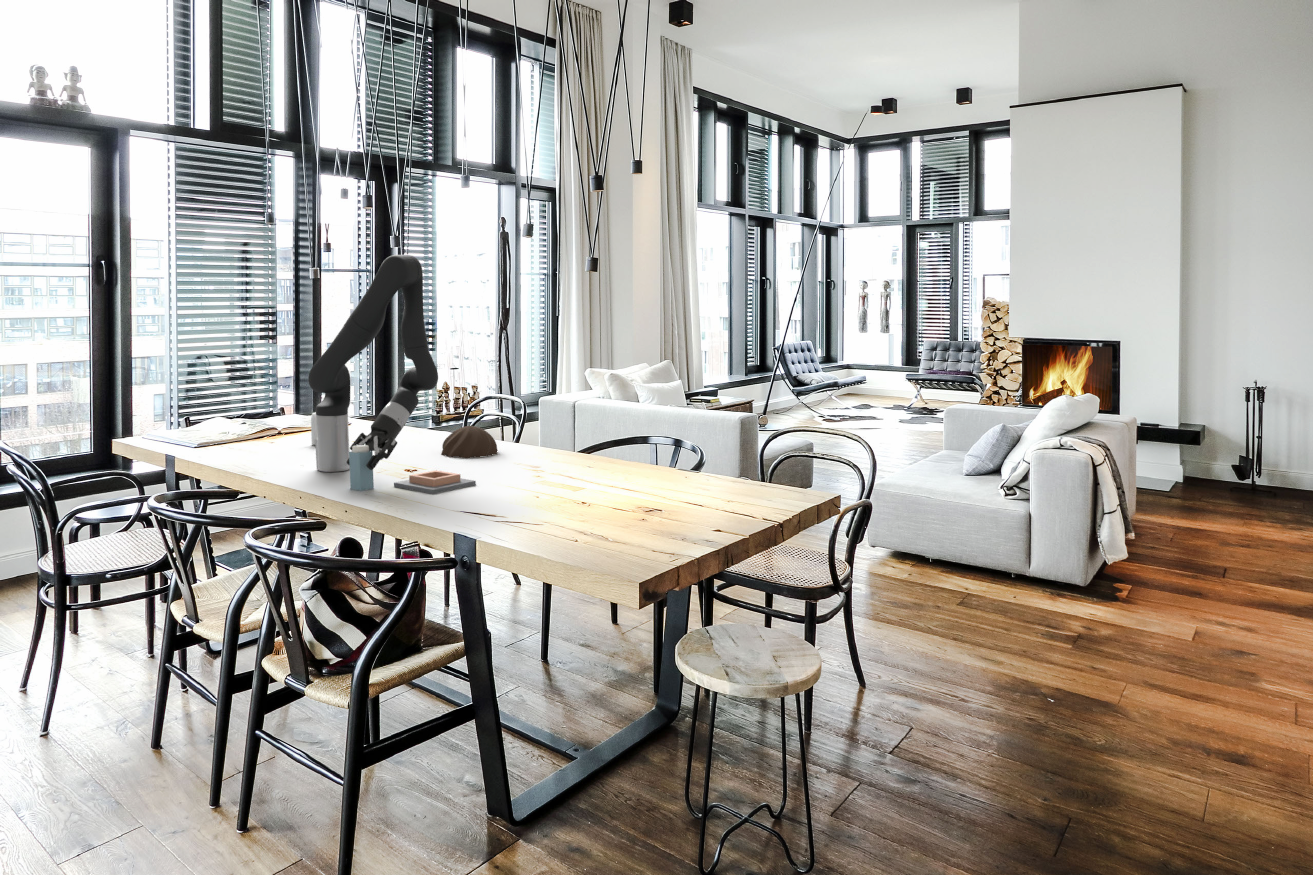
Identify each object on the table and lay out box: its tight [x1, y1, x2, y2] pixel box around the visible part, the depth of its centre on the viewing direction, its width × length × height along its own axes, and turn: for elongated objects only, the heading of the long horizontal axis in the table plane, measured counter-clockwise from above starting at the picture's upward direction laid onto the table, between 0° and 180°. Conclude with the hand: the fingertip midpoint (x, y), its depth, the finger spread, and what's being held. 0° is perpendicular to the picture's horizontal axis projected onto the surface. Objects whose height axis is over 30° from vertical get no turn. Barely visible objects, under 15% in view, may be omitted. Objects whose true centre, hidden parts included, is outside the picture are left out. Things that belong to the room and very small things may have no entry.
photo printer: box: [310, 411, 317, 446], centre depth 326 cm, size 10×4×12 cm, turn 123°
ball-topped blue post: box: [349, 444, 375, 492], centre depth 249 cm, size 4×4×12 cm
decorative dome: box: [440, 425, 499, 459], centre depth 311 cm, size 19×20×10 cm
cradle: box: [393, 469, 477, 495], centre depth 255 cm, size 16×16×3 cm
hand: (358, 466), depth 248 cm, fingers open, 8 cm apart
